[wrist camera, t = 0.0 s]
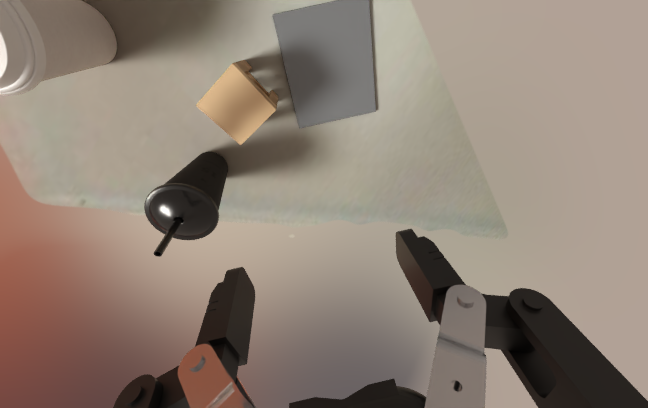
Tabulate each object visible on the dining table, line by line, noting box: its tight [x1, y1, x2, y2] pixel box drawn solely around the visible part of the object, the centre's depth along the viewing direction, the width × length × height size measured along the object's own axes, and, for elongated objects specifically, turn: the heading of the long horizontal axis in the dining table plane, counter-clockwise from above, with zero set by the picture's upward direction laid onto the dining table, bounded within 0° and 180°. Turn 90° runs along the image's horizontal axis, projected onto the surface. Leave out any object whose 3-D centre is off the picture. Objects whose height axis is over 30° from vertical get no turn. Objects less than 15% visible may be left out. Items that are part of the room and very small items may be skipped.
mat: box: [273, 0, 376, 128], centre depth 34 cm, size 14×12×1 cm
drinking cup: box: [145, 152, 228, 256], centre depth 31 cm, size 8×8×20 cm
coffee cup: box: [0, 0, 117, 95], centre depth 22 cm, size 10×10×15 cm
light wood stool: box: [196, 60, 278, 145], centre depth 31 cm, size 6×6×9 cm
